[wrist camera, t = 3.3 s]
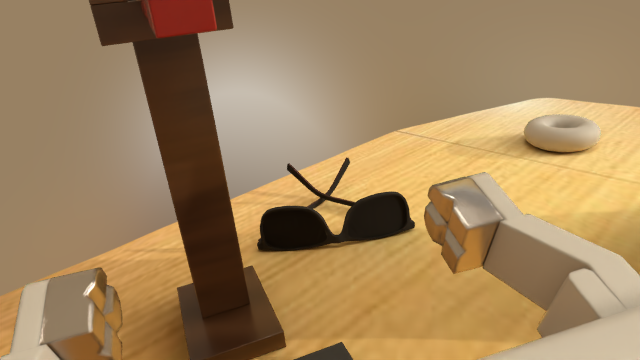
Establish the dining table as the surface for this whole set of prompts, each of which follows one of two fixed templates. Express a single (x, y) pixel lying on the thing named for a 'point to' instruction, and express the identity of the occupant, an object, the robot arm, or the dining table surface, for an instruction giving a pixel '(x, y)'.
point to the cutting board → (329, 353)
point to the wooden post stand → (196, 188)
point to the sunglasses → (311, 229)
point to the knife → (179, 16)
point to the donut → (562, 133)
